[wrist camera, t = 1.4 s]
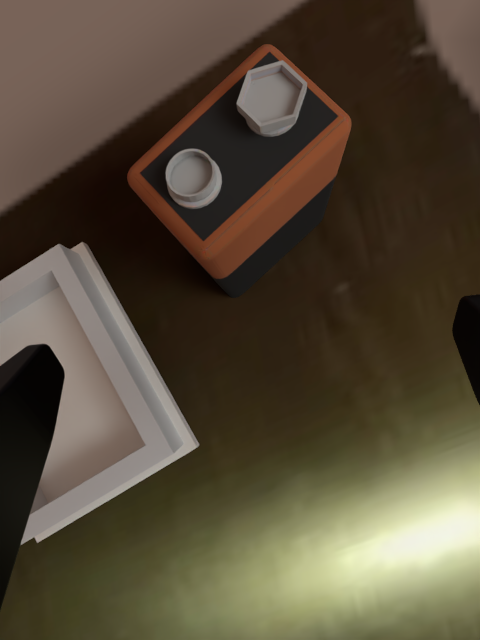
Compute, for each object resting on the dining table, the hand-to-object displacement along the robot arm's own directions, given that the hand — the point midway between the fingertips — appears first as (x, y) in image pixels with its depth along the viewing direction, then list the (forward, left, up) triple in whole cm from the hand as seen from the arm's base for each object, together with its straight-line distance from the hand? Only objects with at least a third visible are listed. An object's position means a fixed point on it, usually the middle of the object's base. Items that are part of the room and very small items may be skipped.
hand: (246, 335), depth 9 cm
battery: (+5, +4, -13) cm, 14 cm away
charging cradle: (-8, +8, -12) cm, 17 cm away
